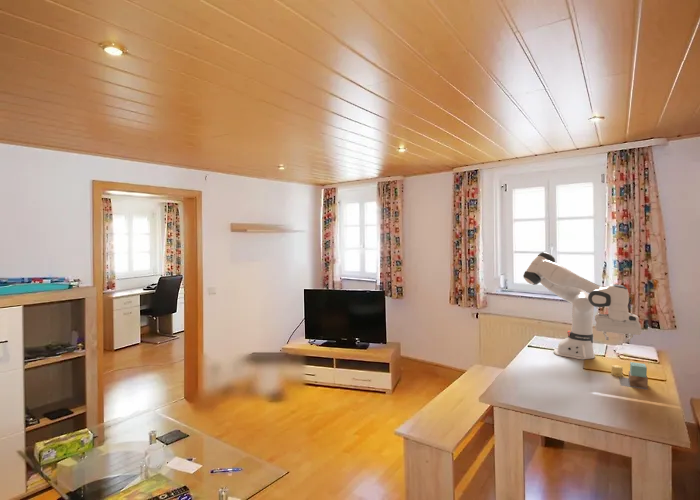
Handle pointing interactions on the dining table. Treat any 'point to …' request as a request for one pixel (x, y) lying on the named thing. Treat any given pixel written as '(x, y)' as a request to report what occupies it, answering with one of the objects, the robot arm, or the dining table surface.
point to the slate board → (626, 383)
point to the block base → (638, 381)
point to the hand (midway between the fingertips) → (617, 341)
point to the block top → (638, 369)
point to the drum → (616, 370)
